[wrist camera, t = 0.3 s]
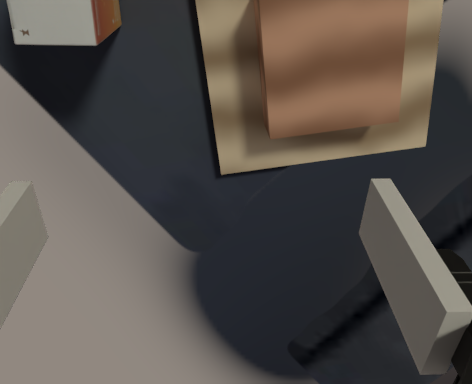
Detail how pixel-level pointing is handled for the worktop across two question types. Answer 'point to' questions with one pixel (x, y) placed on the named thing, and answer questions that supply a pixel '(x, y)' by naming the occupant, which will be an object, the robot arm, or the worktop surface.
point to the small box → (63, 21)
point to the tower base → (310, 147)
